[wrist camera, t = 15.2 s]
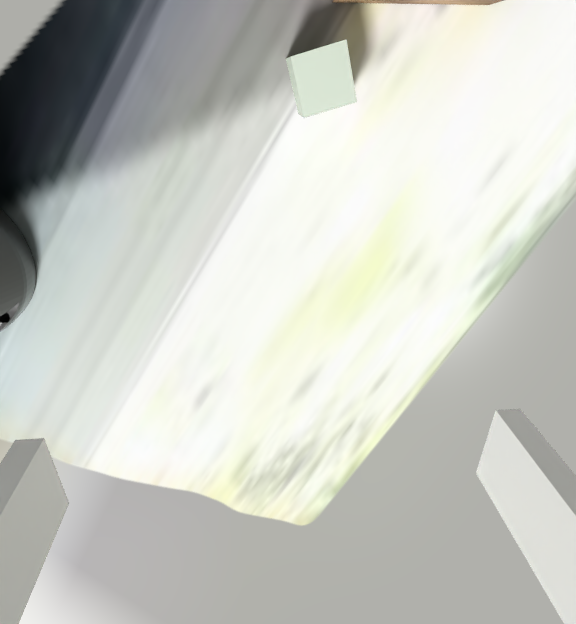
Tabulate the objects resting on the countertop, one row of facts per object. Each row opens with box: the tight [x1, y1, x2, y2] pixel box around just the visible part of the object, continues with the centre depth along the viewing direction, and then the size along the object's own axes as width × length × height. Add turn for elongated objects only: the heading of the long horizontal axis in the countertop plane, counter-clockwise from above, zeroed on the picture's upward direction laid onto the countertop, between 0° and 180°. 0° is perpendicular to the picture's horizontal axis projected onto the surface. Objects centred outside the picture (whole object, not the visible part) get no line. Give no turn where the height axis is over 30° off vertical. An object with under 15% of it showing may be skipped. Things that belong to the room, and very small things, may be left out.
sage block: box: [286, 39, 357, 118], centre depth 32 cm, size 4×4×4 cm
